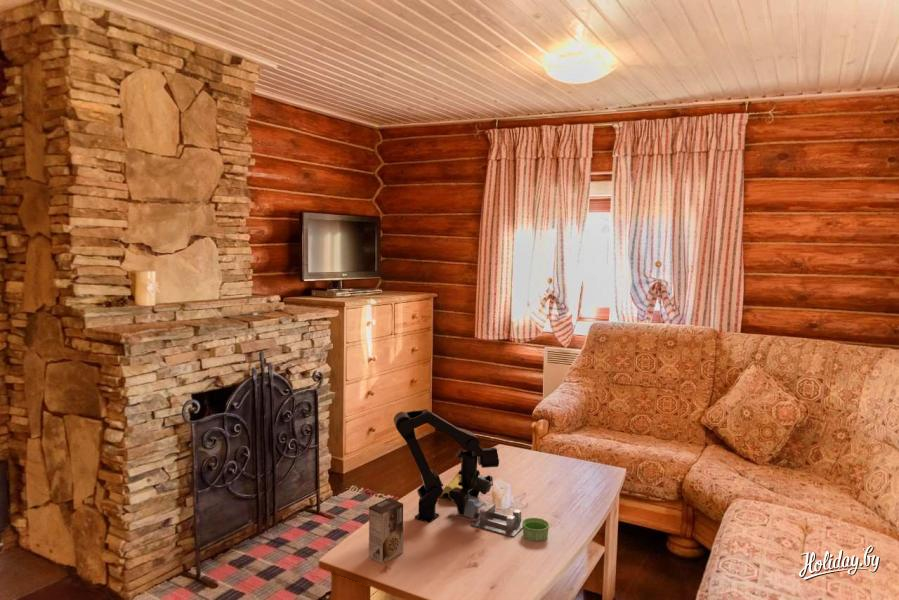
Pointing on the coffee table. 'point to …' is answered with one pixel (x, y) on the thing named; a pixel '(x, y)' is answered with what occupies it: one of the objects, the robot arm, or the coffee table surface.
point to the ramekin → (535, 529)
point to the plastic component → (452, 484)
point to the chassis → (499, 521)
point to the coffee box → (385, 530)
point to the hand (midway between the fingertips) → (467, 510)
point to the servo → (472, 507)
